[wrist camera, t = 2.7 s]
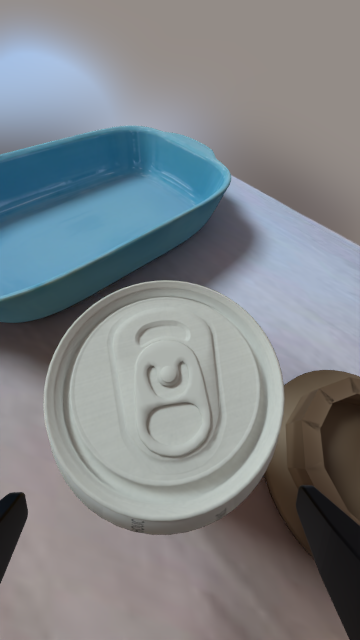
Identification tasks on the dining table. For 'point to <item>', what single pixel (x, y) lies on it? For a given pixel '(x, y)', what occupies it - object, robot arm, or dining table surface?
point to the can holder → (318, 445)
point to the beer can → (163, 406)
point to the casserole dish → (97, 212)
